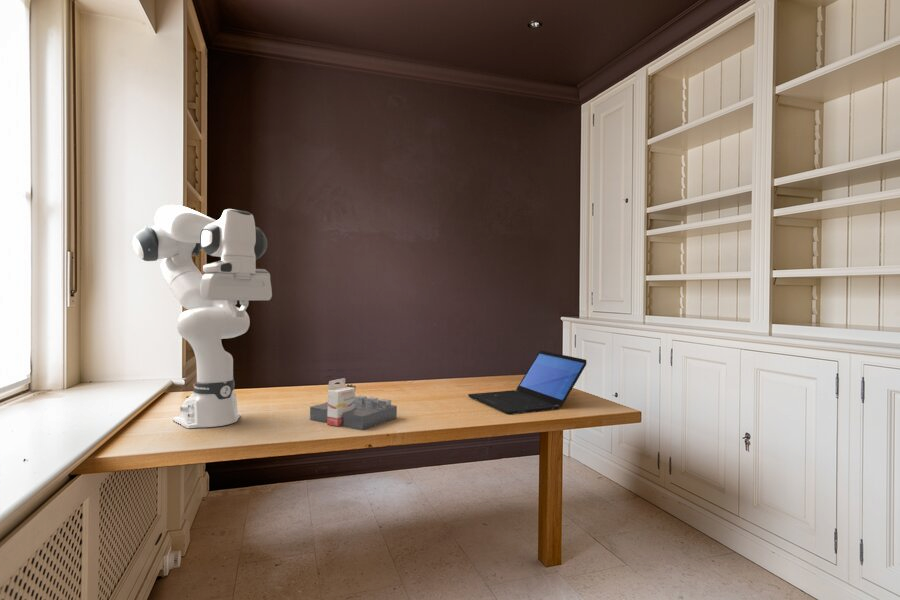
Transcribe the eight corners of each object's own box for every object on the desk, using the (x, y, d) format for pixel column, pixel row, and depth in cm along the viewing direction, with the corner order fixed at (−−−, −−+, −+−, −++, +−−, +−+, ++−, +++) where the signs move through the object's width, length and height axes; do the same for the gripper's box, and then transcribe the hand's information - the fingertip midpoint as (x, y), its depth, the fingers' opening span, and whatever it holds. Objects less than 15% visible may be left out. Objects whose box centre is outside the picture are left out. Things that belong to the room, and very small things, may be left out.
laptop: (467, 398, 208) (467, 353, 208) (540, 392, 223) (540, 350, 223) (507, 416, 178) (507, 363, 178) (588, 407, 193) (588, 359, 193)
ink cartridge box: (337, 427, 159) (338, 382, 159) (326, 424, 162) (327, 381, 162) (355, 421, 167) (355, 378, 167) (344, 419, 169) (344, 377, 169)
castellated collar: (310, 419, 168) (310, 401, 168) (346, 409, 184) (346, 392, 183) (362, 430, 156) (362, 410, 156) (396, 418, 171) (396, 400, 171)
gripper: (262, 269, 145) (262, 315, 145) (197, 265, 127) (196, 317, 128) (276, 269, 142) (276, 316, 142) (211, 265, 124) (211, 318, 124)
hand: (238, 317), depth 135 cm, fingers closed
